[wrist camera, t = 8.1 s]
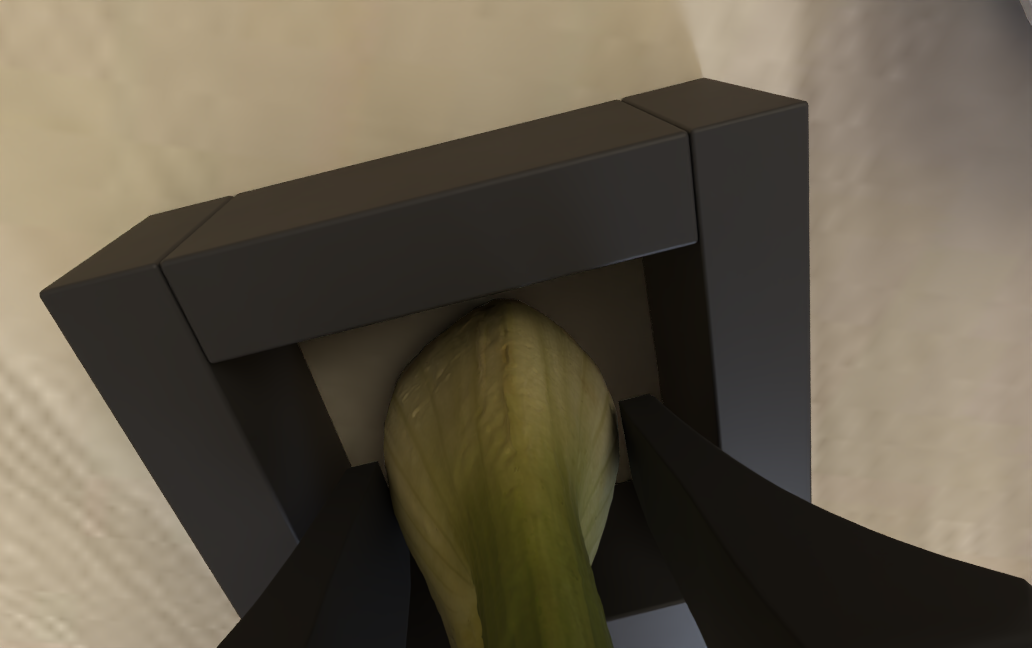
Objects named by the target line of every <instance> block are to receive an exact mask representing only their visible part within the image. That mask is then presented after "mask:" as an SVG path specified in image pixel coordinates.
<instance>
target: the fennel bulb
mask: <svg viewBox="0 0 1032 648" xmlns="http://www.w3.org/2000/svg"><path fill="white" fill-rule="evenodd" d="M383 451H384V460H385V468H386V471H387V479H388V487H389V491H390V497H391V501H392V506H393V510H394V514H395V516H396V519H397V521H398V523H399V526H400V529H401V531H402V534H403V536H404V539H405V542H406V544H407V546H408V548H409V550H410V552H411V554H412V556H413V557H414V559H415V561H416V563H417V565H418V567H419V569H420V570H421V572H422V574H423V576H424V578H425V580H426V583H427V585H428V588H429V591H430V594H431V596H432V599H433V600H434V601H435V604H436V607H437V610H438V612H439V614H440V615H441V618H442V621H443V624H444V627H445V630H446V633H447V636H448V639H449V643H450V646H451V648H614V647H613V643H612V638H611V635H610V632H609V629H608V626H607V622H606V619H605V614H604V609H603V606H602V603H601V599H600V597H599V595H598V592H597V588H596V584H595V580H594V575H593V571H592V568H591V565H592V562H593V560H594V557H595V555H596V552H597V549H598V546H599V543H600V539H601V536H602V533H603V530H604V527H605V524H606V520H607V516H608V512H609V508H610V505H611V502H612V499H613V492H614V486H615V482H616V475H617V472H618V466H619V457H620V454H619V432H618V422H617V412H616V408H615V405H614V402H613V400H612V397H611V395H610V392H609V390H608V389H607V387H606V383H605V380H604V378H603V376H602V374H601V372H600V370H599V368H598V367H597V366H596V364H595V363H594V362H593V360H592V359H591V358H590V357H589V355H588V354H587V353H586V352H585V351H583V350H582V349H581V347H580V346H579V345H578V343H577V342H576V341H575V340H574V339H573V338H572V336H571V335H570V334H568V333H567V332H566V331H565V330H564V329H563V328H562V327H560V326H559V325H558V324H556V323H555V322H554V321H552V320H551V319H550V318H549V317H547V316H546V315H544V314H543V313H541V312H539V311H538V310H536V309H534V308H532V307H531V306H529V305H527V304H525V303H524V302H521V301H519V300H515V299H494V300H491V301H490V302H489V303H487V304H485V305H482V306H479V307H477V308H475V309H474V310H472V311H471V312H470V313H468V314H467V315H465V316H463V317H462V318H460V319H459V320H457V321H456V322H455V323H454V324H453V325H452V326H451V327H450V328H449V329H447V330H446V331H444V332H443V333H441V334H440V335H439V336H438V337H436V338H435V339H434V340H433V341H431V342H430V343H429V344H428V345H426V346H425V347H424V348H423V350H422V352H421V353H420V354H419V355H418V356H416V357H415V358H414V359H413V360H412V361H411V362H410V363H409V364H408V365H407V366H406V367H405V369H404V370H403V372H402V373H401V375H400V377H399V378H398V380H397V382H396V385H395V389H394V392H393V395H392V399H391V402H390V404H389V408H388V412H387V416H386V419H385V423H384V444H383Z"/></svg>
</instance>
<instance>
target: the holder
mask: <svg viewBox="0 0 1032 648" xmlns="http://www.w3.org/2000/svg"><path fill="white" fill-rule="evenodd" d="M640 257H642V258H643V266H644V273H645V280H646V287H647V295H648V302H649V309H650V316H651V324H652V331H653V338H654V346H655V353H656V360H657V367H658V375H659V382H660V389H661V397H662V404H663V405H665V406H666V407H667V408H668V409H669V410H670V411H672V412H673V413H674V414H675V415H676V416H678V417H679V418H680V419H681V420H683V421H684V422H685V423H686V424H688V425H689V426H690V427H691V428H693V429H694V430H695V431H696V432H698V433H699V434H700V435H702V436H703V437H704V438H706V439H707V440H709V441H710V442H711V443H713V444H714V445H716V446H717V447H718V448H720V449H721V450H722V451H724V452H725V453H727V454H728V455H730V456H731V457H733V458H734V459H736V460H737V461H738V462H740V463H742V464H743V465H745V466H746V467H748V468H749V469H751V470H753V471H754V472H756V473H757V474H759V475H760V476H762V477H764V478H765V479H767V480H769V481H770V482H772V483H774V484H776V485H777V486H779V487H781V488H783V489H784V490H786V491H788V492H790V493H792V494H794V495H796V496H798V497H800V498H802V499H803V500H805V501H807V502H809V503H811V388H810V258H809V128H808V103H807V102H806V101H802V100H798V99H794V98H789V97H785V96H781V95H776V94H772V93H768V92H763V91H759V90H755V89H750V88H746V87H742V86H738V85H733V84H729V83H725V82H720V81H716V80H712V79H707V78H701V79H697V80H693V81H689V82H685V83H681V84H677V85H673V86H669V87H665V88H661V89H657V90H653V91H649V92H645V93H641V94H637V95H633V96H629V97H625V98H623V99H622V101H620V100H614V101H610V102H606V103H602V104H598V105H594V106H590V107H585V108H581V109H577V110H573V111H569V112H565V113H561V114H557V115H553V116H549V117H545V118H541V119H537V120H533V121H529V122H525V123H521V124H517V125H513V126H509V127H505V128H501V129H497V130H493V131H489V132H485V133H481V134H477V135H473V136H469V137H465V138H461V139H457V140H453V141H449V142H445V143H441V144H437V145H433V146H429V147H425V148H421V149H417V150H413V151H408V152H404V153H400V154H396V155H392V156H388V157H384V158H380V159H376V160H372V161H368V162H364V163H360V164H356V165H352V166H348V167H344V168H340V169H336V170H332V171H328V172H324V173H320V174H316V175H312V176H308V177H304V178H300V179H296V180H292V181H288V182H284V183H280V184H276V185H272V186H268V187H264V188H260V189H256V190H252V191H248V192H244V193H240V194H237V195H236V196H235V197H233V196H227V197H223V198H219V199H215V200H211V201H207V202H203V203H199V204H195V205H191V206H187V207H183V208H179V209H175V210H171V211H167V212H163V213H159V214H155V215H151V216H149V217H147V218H146V219H144V220H143V221H142V222H140V223H139V224H137V225H136V226H134V227H133V228H131V229H130V230H129V231H127V232H126V233H124V234H123V235H121V236H120V237H118V238H117V239H116V240H114V241H113V242H111V243H110V244H108V245H107V246H105V247H104V248H103V249H101V250H100V251H98V252H97V253H95V254H94V255H92V256H91V257H90V258H88V259H87V260H85V261H84V262H82V263H81V264H79V265H78V266H77V267H75V268H74V269H72V270H71V271H69V272H68V273H66V274H65V275H64V276H62V277H61V278H59V279H58V280H56V281H55V282H53V283H52V284H51V285H49V286H48V287H46V288H45V289H43V290H42V291H41V292H40V298H41V299H42V301H43V303H44V304H45V306H46V307H47V309H48V311H49V312H50V314H51V315H52V317H53V319H54V320H55V322H56V323H57V325H58V327H59V328H60V330H61V331H62V333H63V335H64V336H65V338H66V340H67V341H68V343H69V344H70V346H71V348H72V349H73V351H74V352H75V354H76V356H77V357H78V359H79V360H80V362H81V364H82V365H83V367H84V368H85V370H86V372H87V373H88V375H89V376H90V378H91V380H92V381H93V383H94V384H95V386H96V388H97V389H98V391H99V392H100V394H101V396H102V397H103V399H104V400H105V402H106V404H107V405H108V407H109V408H110V410H111V412H112V413H113V415H114V416H115V418H116V420H117V421H118V423H119V424H120V426H121V428H122V429H123V431H124V432H125V434H126V436H127V437H128V439H129V440H130V442H131V444H132V445H133V447H134V448H135V450H136V452H137V453H138V455H139V456H140V458H141V460H142V461H143V463H144V465H145V466H146V468H147V469H148V471H149V473H150V474H151V476H152V477H153V479H154V481H155V482H156V484H157V485H158V487H159V489H160V490H161V492H162V493H163V495H164V497H165V498H166V500H167V501H168V503H169V505H170V506H171V508H172V509H173V511H174V513H175V514H176V516H177V517H178V519H179V521H180V522H181V524H182V525H183V527H184V529H185V530H186V532H187V533H188V535H189V537H190V538H191V540H192V541H193V543H194V545H195V546H196V548H197V549H198V551H199V553H200V554H201V556H202V557H203V559H204V561H205V562H206V564H207V565H208V567H209V569H210V570H211V572H212V573H213V575H214V577H215V578H216V580H217V582H218V583H219V585H220V586H221V588H222V590H223V591H224V593H225V594H226V596H227V598H228V599H229V601H230V602H231V604H232V606H233V607H234V609H235V610H236V612H237V614H238V615H239V617H240V618H241V619H242V618H243V617H244V615H245V614H246V613H247V612H248V611H249V609H250V608H251V607H252V606H253V605H254V603H255V602H256V601H257V599H258V598H259V597H260V596H261V594H262V593H263V592H264V590H265V589H266V588H267V586H268V585H269V584H270V582H271V581H272V580H273V578H274V577H275V575H276V574H277V573H278V571H279V570H280V569H281V567H282V566H283V565H284V563H285V562H286V560H287V559H288V558H289V556H290V555H291V554H292V552H293V551H294V549H295V548H296V546H297V545H298V543H299V542H300V540H301V539H302V537H303V536H304V534H305V533H306V531H307V530H308V528H309V527H310V525H311V524H312V522H313V521H314V519H315V518H316V516H317V515H318V513H319V512H320V510H321V508H322V507H323V505H324V504H325V502H326V501H327V499H328V497H329V496H330V494H331V493H332V491H333V490H334V488H335V487H336V485H337V483H338V482H339V480H340V479H341V477H342V476H343V474H344V473H345V471H346V470H347V469H348V468H352V467H351V465H350V463H349V460H348V458H347V456H346V454H345V451H344V449H343V447H342V444H341V442H340V440H339V437H338V435H337V433H336V430H335V428H334V426H333V424H332V421H331V419H330V417H329V414H328V412H327V410H326V407H325V405H324V403H323V400H322V398H321V396H320V394H319V391H318V389H317V387H316V384H315V382H314V380H313V377H312V375H311V373H310V371H309V368H308V366H307V364H306V361H305V359H304V357H303V354H302V352H301V350H300V347H299V345H298V342H302V341H306V340H310V339H314V338H318V337H322V336H326V335H330V334H334V333H338V332H342V331H346V330H350V329H354V328H359V327H363V326H367V325H371V324H375V323H379V322H383V321H387V320H391V319H395V318H399V317H403V316H407V315H411V314H415V313H419V312H423V311H427V310H431V309H435V308H439V307H443V306H447V305H451V304H455V303H459V302H463V301H467V300H471V299H475V298H479V297H483V296H487V295H491V294H495V293H499V292H503V291H507V290H511V289H515V288H519V287H523V286H527V285H531V284H535V283H539V282H543V281H547V280H551V279H555V278H559V277H563V276H567V275H571V274H575V273H579V272H583V271H587V270H591V269H595V268H599V267H603V266H607V265H611V264H616V263H620V262H624V261H628V260H632V259H636V258H640ZM409 551H410V550H409ZM591 568H592V571H593V575H594V580H595V584H596V588H597V592H598V595H599V597H600V599H601V603H602V606H603V609H604V614H605V619H606V622H607V626H608V629H609V632H610V635H611V638H612V643H613V647H614V648H707V646H706V644H705V642H704V639H703V637H702V635H701V633H700V630H699V628H698V626H697V624H696V622H695V620H694V618H693V616H692V614H691V612H690V610H689V608H688V606H687V604H686V602H685V600H684V598H683V596H682V594H681V592H680V590H679V588H678V586H677V584H676V582H675V580H674V578H673V576H672V574H671V572H670V570H669V568H668V566H667V564H666V562H665V560H664V558H663V555H662V553H661V551H660V549H659V547H658V545H657V543H656V541H655V539H654V537H653V535H652V533H651V531H650V529H649V527H648V524H647V521H646V518H645V516H644V513H643V510H642V507H641V505H640V502H639V499H638V496H637V493H636V490H635V488H634V485H633V482H632V481H628V482H624V483H620V484H616V485H615V486H614V492H613V499H612V502H611V505H610V508H609V512H608V516H607V520H606V524H605V527H604V530H603V533H602V536H601V539H600V543H599V546H598V549H597V552H596V555H595V557H594V560H593V562H592V565H591ZM410 577H411V590H410V603H409V615H408V627H407V638H406V648H451V646H450V643H449V639H448V636H447V633H446V630H445V627H444V624H443V621H442V618H441V615H440V614H439V612H438V610H437V607H436V604H435V601H434V600H433V599H432V596H431V594H430V591H429V588H428V585H427V583H426V580H425V578H424V576H423V574H422V572H421V570H420V569H419V567H418V565H417V563H416V561H415V559H414V557H413V556H412V554H411V552H410Z"/></svg>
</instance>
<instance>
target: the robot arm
mask: <svg viewBox="0 0 1032 648" xmlns="http://www.w3.org/2000/svg"><path fill="white" fill-rule="evenodd" d="M618 402H619V408H620V413H621V419H622V425H623V431H624V436H625V442H626V448H627V453H628V459H629V465H630V470H631V476H632V482H633V485H634V488H635V490H636V493H637V496H638V499H639V502H640V505H641V507H642V510H643V513H644V516H645V518H646V521H647V524H648V527H649V529H650V531H651V533H652V535H653V537H654V539H655V541H656V543H657V545H658V547H659V549H660V551H661V553H662V555H663V558H664V560H665V562H666V564H667V566H668V568H669V570H670V572H671V574H672V576H673V578H674V580H675V582H676V584H677V586H678V588H679V590H680V592H681V594H682V596H683V598H684V600H685V602H686V604H687V606H688V608H689V610H690V612H691V614H692V616H693V618H694V620H695V622H696V624H697V626H698V628H699V630H700V633H701V635H702V637H703V639H704V642H705V644H706V646H707V648H1032V586H1031V585H1030V584H1029V583H1028V582H1027V581H1026V580H1024V579H1022V578H1019V577H1015V576H1012V575H1008V574H1005V573H1001V572H998V571H994V570H991V569H987V568H984V567H980V566H977V565H973V564H970V563H966V562H963V561H959V560H955V559H952V558H948V557H945V556H942V555H939V554H936V553H933V552H930V551H927V550H924V549H922V548H919V547H916V546H913V545H910V544H907V543H904V542H902V541H899V540H896V539H893V538H891V537H888V536H885V535H883V534H880V533H878V532H875V531H872V530H870V529H867V528H865V527H863V526H860V525H858V524H856V523H853V522H851V521H849V520H846V519H844V518H842V517H840V516H837V515H835V514H833V513H830V512H828V511H826V510H824V509H822V508H820V507H818V506H815V505H813V504H811V503H809V502H807V501H805V500H803V499H802V498H800V497H798V496H796V495H794V494H792V493H790V492H788V491H786V490H784V489H783V488H781V487H779V486H777V485H776V484H774V483H772V482H770V481H769V480H767V479H765V478H764V477H762V476H760V475H759V474H757V473H756V472H754V471H753V470H751V469H749V468H748V467H746V466H745V465H743V464H742V463H740V462H738V461H737V460H736V459H734V458H733V457H731V456H730V455H728V454H727V453H725V452H724V451H722V450H721V449H720V448H718V447H717V446H716V445H714V444H713V443H711V442H710V441H709V440H707V439H706V438H704V437H703V436H702V435H700V434H699V433H698V432H696V431H695V430H694V429H693V428H691V427H690V426H689V425H688V424H686V423H685V422H684V421H683V420H681V419H680V418H679V417H678V416H676V415H675V414H674V413H673V412H672V411H670V410H669V409H668V408H667V407H666V406H665V405H663V404H662V403H661V402H660V401H659V400H658V399H656V398H655V397H654V396H652V395H650V394H646V395H642V396H638V397H634V398H630V399H626V400H622V401H618ZM410 590H411V577H410V551H409V548H408V546H407V544H406V542H405V539H404V536H403V534H402V531H401V529H400V526H399V523H398V521H397V519H396V516H395V514H394V510H393V506H392V501H391V497H390V491H389V487H388V485H387V483H386V480H385V478H384V475H383V473H382V470H381V468H380V465H379V463H378V461H376V462H372V463H368V464H364V465H360V466H356V467H352V468H348V469H347V470H346V471H345V473H344V474H343V476H342V477H341V479H340V480H339V482H338V483H337V485H336V487H335V488H334V490H333V491H332V493H331V494H330V496H329V497H328V499H327V501H326V502H325V504H324V505H323V507H322V508H321V510H320V512H319V513H318V515H317V516H316V518H315V519H314V521H313V522H312V524H311V525H310V527H309V528H308V530H307V531H306V533H305V534H304V536H303V537H302V539H301V540H300V542H299V543H298V545H297V546H296V548H295V549H294V551H293V552H292V554H291V555H290V556H289V558H288V559H287V560H286V562H285V563H284V565H283V566H282V567H281V569H280V570H279V571H278V573H277V574H276V575H275V577H274V578H273V580H272V581H271V582H270V584H269V585H268V586H267V588H266V589H265V590H264V592H263V593H262V594H261V596H260V597H259V598H258V599H257V601H256V602H255V603H254V605H253V606H252V607H251V608H250V609H249V611H248V612H247V613H246V614H245V615H244V617H243V618H242V619H241V620H240V621H239V623H238V624H237V625H236V626H235V627H234V628H233V629H232V631H231V632H230V633H229V634H228V635H227V636H226V638H225V639H224V640H223V641H222V642H221V643H220V644H219V645H218V647H217V648H406V638H407V627H408V615H409V603H410Z"/></svg>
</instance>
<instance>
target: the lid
mask: <svg viewBox="0 0 1032 648" xmlns="http://www.w3.org/2000/svg"><path fill="white" fill-rule="evenodd" d="M1020 2H1021V5H1022V7H1023V9H1024V12H1025V14H1026V17H1027V19H1028V21H1029V23H1030V24H1031V26H1032V0H1020Z"/></svg>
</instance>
